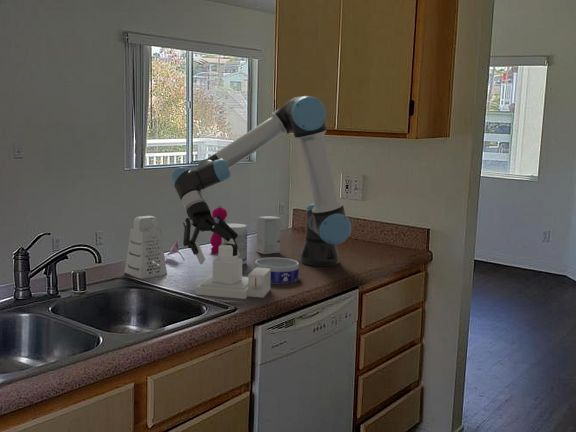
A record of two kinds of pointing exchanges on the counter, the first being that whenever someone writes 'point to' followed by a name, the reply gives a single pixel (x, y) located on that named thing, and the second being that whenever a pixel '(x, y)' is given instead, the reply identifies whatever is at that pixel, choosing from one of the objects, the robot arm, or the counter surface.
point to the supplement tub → (240, 240)
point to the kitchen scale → (239, 286)
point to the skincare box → (268, 234)
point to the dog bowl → (280, 269)
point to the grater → (145, 250)
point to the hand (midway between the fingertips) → (220, 259)
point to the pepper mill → (215, 238)
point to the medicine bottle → (227, 265)
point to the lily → (174, 248)
